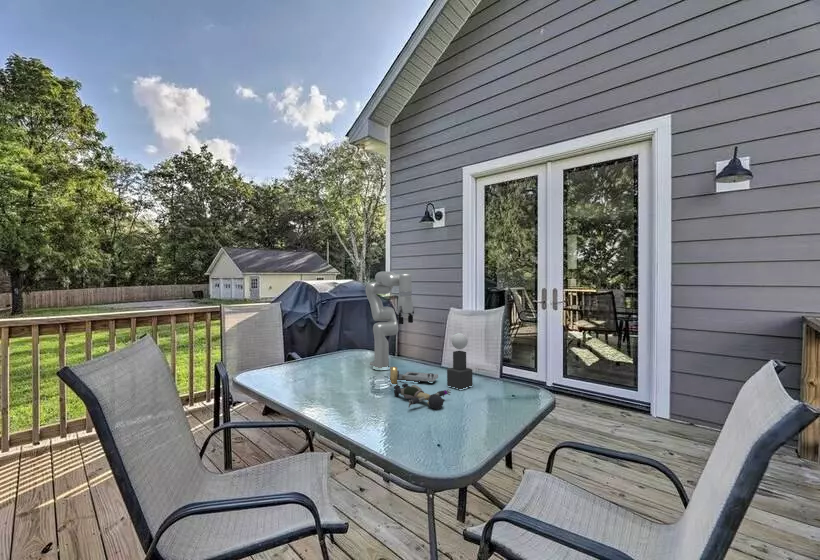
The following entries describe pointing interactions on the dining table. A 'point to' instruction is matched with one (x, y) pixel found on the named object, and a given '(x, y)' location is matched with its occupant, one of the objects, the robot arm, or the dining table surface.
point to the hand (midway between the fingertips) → (405, 323)
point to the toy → (420, 395)
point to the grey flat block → (417, 376)
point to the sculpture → (459, 365)
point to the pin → (393, 375)
